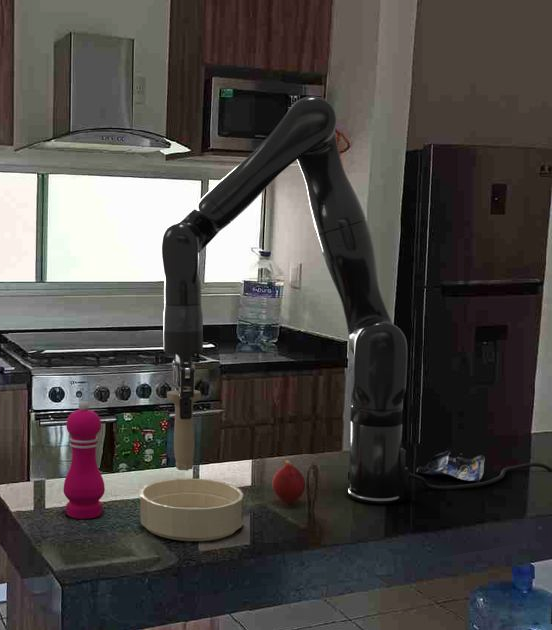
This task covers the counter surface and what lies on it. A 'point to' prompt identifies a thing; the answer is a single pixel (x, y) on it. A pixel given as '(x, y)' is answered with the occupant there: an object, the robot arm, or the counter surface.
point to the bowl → (191, 509)
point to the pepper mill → (83, 465)
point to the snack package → (455, 467)
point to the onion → (288, 483)
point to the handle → (183, 433)
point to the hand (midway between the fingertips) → (183, 415)
